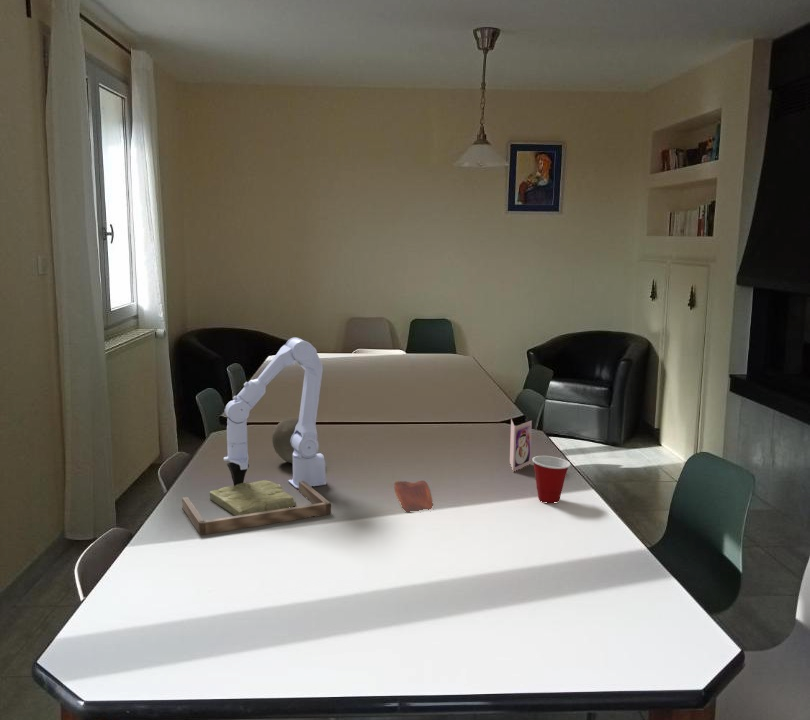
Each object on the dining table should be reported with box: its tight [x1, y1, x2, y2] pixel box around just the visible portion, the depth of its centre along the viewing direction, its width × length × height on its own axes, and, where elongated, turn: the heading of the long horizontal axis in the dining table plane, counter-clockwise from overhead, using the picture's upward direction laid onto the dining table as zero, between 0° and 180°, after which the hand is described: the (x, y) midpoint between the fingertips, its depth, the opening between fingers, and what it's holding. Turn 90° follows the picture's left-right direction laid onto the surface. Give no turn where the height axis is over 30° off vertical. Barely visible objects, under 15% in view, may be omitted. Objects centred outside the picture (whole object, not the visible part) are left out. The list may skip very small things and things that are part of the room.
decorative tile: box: [209, 479, 297, 516], centre depth 219 cm, size 18×20×4 cm
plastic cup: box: [531, 455, 572, 504], centre depth 222 cm, size 11×11×12 cm
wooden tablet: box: [394, 480, 434, 513], centre depth 225 cm, size 27×10×2 cm, turn 5°
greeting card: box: [509, 418, 533, 473], centre depth 254 cm, size 11×7×15 cm, turn 143°
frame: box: [181, 481, 332, 536], centre depth 211 cm, size 35×22×3 cm, turn 117°
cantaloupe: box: [271, 418, 299, 465], centre depth 255 cm, size 14×14×15 cm
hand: (238, 487), depth 227 cm, fingers closed
